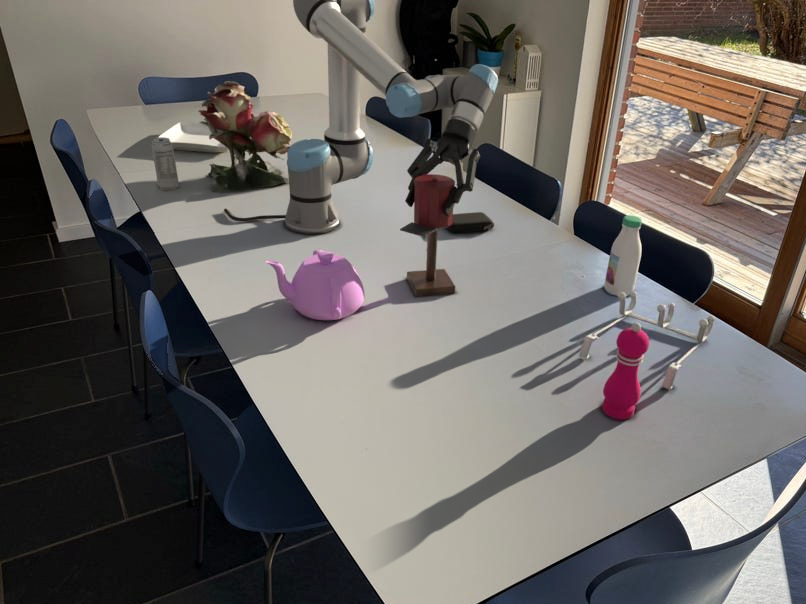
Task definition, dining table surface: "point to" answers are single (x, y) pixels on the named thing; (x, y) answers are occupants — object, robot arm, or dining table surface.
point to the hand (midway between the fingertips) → (427, 208)
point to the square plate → (193, 138)
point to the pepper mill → (625, 374)
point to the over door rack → (702, 334)
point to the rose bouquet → (244, 139)
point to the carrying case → (470, 222)
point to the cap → (430, 204)
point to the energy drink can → (164, 163)
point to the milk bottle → (624, 258)
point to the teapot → (322, 286)
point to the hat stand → (431, 274)
